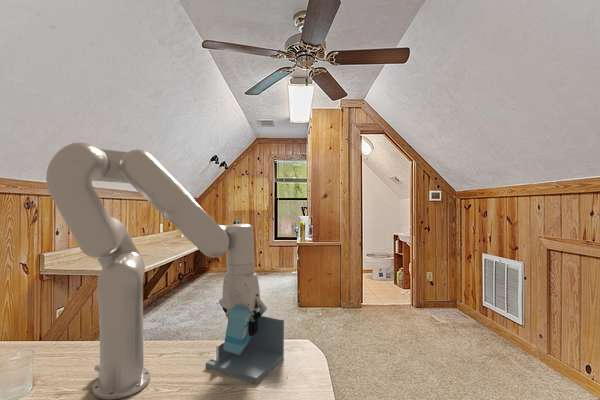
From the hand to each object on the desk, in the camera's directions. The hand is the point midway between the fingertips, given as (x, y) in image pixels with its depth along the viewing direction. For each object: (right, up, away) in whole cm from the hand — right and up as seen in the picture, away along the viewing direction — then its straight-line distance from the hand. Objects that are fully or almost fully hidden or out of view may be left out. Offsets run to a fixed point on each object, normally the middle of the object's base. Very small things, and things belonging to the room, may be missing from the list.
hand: (242, 331), depth 94 cm
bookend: (-5, -7, +3) cm, 9 cm away
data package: (-1, -4, 0) cm, 4 cm away
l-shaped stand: (+1, -9, 0) cm, 9 cm away
